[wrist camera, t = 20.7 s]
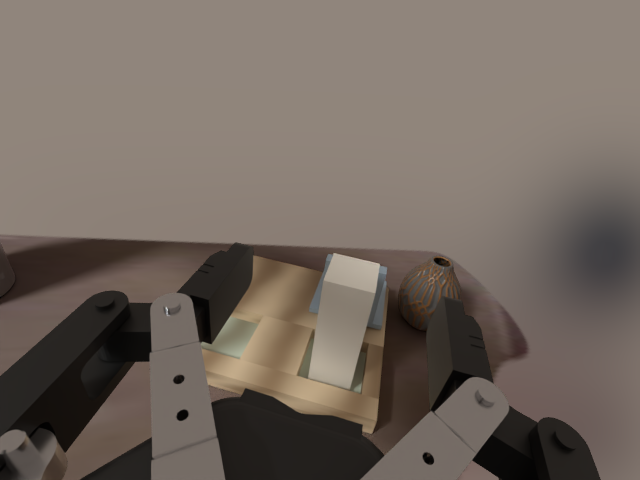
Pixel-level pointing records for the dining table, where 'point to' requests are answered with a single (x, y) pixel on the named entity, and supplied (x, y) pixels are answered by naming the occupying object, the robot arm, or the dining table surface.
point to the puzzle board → (290, 348)
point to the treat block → (342, 319)
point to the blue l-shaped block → (378, 302)
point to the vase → (427, 290)
